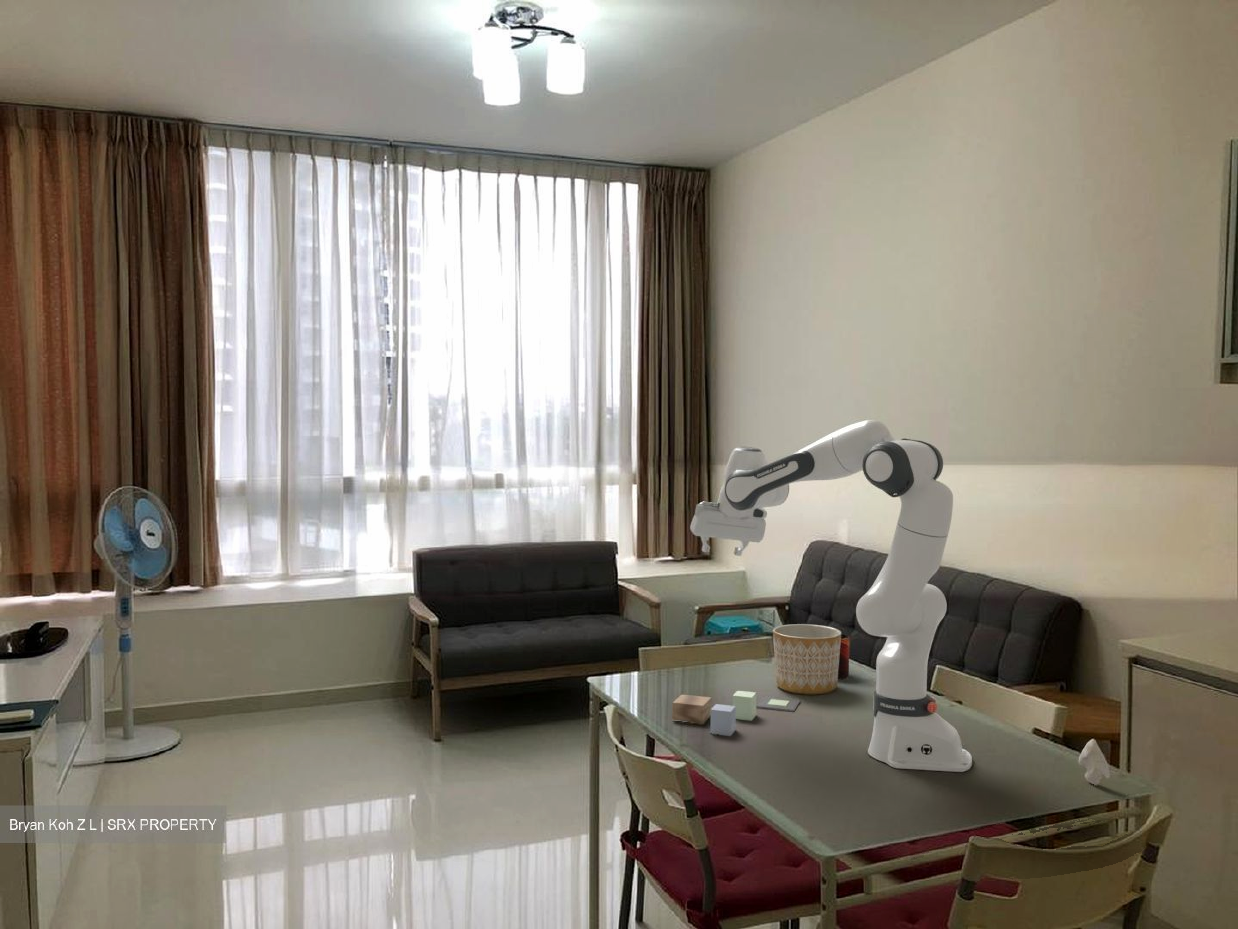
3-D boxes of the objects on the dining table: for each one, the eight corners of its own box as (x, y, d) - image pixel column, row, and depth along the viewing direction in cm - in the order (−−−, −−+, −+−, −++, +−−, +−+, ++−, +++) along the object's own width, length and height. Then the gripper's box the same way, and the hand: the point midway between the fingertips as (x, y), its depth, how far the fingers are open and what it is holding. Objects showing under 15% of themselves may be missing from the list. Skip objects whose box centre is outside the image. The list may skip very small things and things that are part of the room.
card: (800, 701, 262) (800, 699, 262) (793, 711, 252) (793, 709, 252) (764, 698, 265) (764, 695, 265) (756, 707, 256) (756, 705, 256)
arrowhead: (1073, 779, 204) (1074, 733, 203) (1082, 778, 205) (1083, 731, 204) (1104, 793, 196) (1105, 744, 196) (1114, 791, 197) (1115, 743, 197)
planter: (767, 679, 286) (768, 624, 285) (832, 679, 286) (833, 624, 285) (778, 697, 267) (778, 638, 266) (847, 697, 266) (848, 638, 266)
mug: (837, 667, 300) (837, 629, 299) (853, 679, 286) (854, 639, 286) (807, 668, 299) (807, 630, 298) (822, 680, 285) (823, 639, 284)
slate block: (735, 730, 237) (735, 706, 237) (730, 736, 232) (730, 711, 232) (715, 728, 239) (715, 704, 239) (710, 734, 234) (710, 709, 234)
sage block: (756, 715, 249) (756, 692, 249) (751, 721, 245) (751, 697, 245) (737, 713, 251) (737, 690, 251) (732, 718, 247) (732, 695, 246)
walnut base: (711, 716, 249) (711, 697, 249) (702, 725, 241) (702, 705, 241) (681, 713, 252) (681, 694, 252) (672, 722, 244) (672, 702, 244)
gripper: (702, 504, 247) (689, 554, 250) (772, 513, 253) (759, 561, 257) (693, 496, 252) (681, 544, 256) (763, 505, 259) (750, 552, 262)
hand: (721, 553), depth 256 cm, fingers open, 8 cm apart
